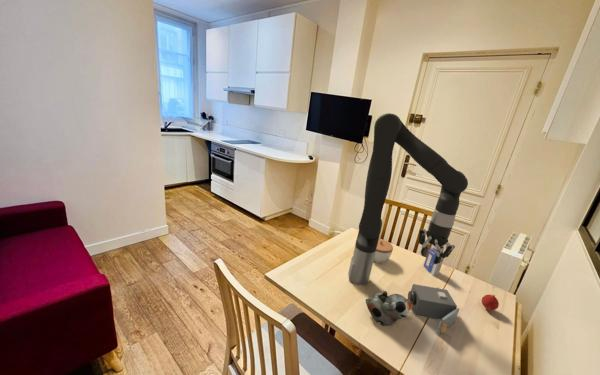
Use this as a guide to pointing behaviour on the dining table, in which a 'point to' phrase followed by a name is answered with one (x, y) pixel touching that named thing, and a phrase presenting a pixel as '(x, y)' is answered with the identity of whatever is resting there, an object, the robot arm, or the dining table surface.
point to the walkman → (432, 262)
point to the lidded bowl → (383, 251)
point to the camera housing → (431, 302)
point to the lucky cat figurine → (388, 308)
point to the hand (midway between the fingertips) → (429, 259)
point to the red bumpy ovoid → (490, 302)
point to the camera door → (447, 321)
